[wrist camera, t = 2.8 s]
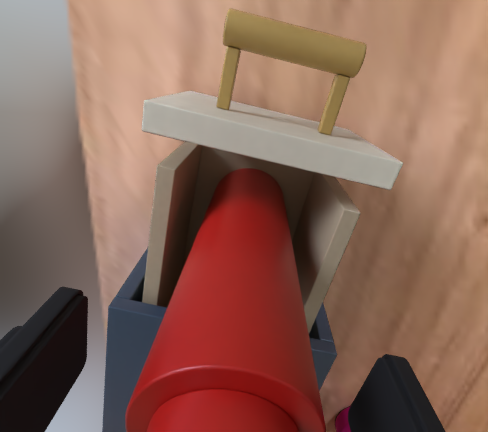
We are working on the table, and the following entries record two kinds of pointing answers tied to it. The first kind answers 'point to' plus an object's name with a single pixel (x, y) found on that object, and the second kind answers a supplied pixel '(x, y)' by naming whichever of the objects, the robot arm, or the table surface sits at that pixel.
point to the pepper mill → (342, 421)
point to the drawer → (263, 158)
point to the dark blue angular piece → (143, 335)
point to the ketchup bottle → (233, 326)
